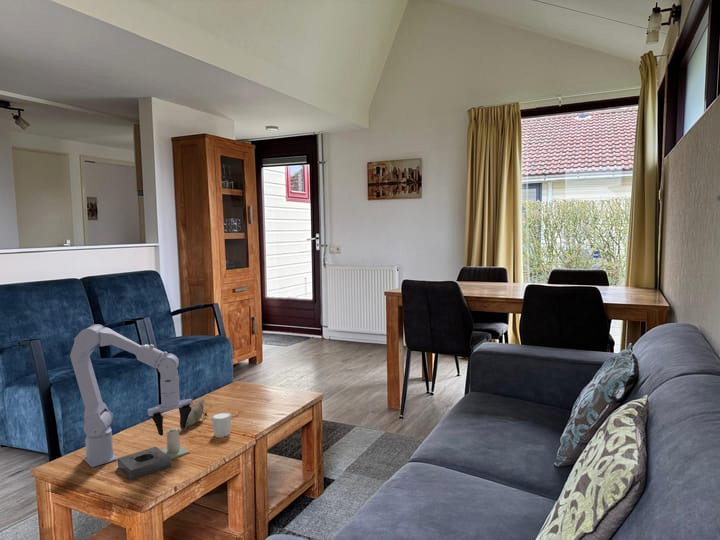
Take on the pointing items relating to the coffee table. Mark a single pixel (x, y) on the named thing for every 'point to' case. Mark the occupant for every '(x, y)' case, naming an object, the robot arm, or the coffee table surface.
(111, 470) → the coffee table surface
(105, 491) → the coffee table surface
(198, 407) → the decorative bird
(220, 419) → the white tapered cylinder
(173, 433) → the plug
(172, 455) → the mat
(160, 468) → the housing
